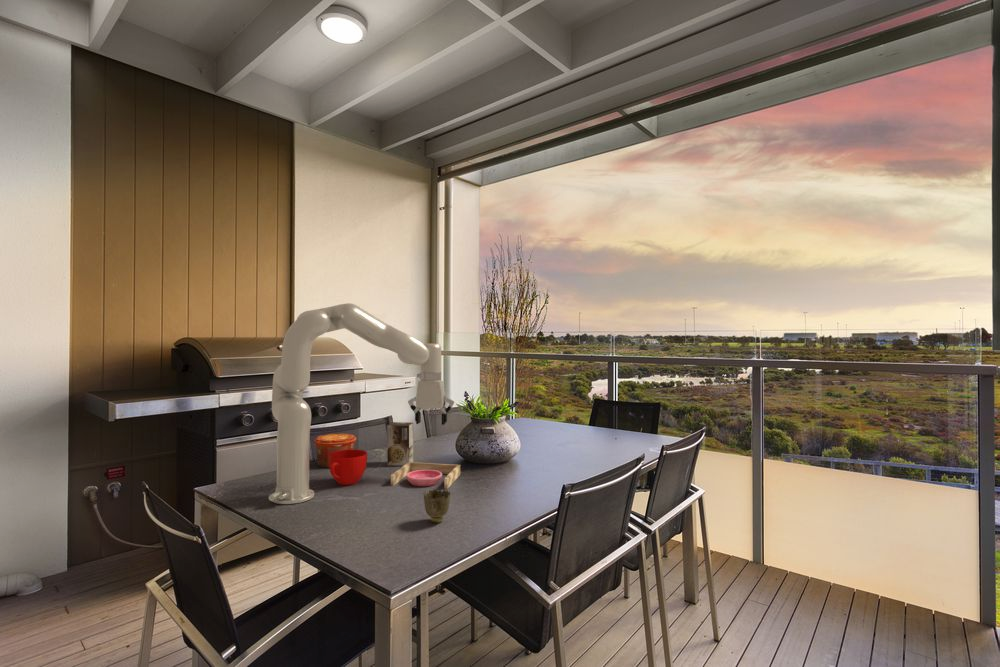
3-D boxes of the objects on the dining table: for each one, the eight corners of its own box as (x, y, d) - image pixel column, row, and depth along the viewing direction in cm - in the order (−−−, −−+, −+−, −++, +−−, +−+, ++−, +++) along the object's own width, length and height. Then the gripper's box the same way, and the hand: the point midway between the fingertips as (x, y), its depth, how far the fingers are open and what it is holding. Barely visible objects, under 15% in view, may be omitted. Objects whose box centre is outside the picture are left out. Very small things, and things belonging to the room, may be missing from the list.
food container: (346, 457, 213) (346, 431, 213) (362, 465, 200) (363, 437, 200) (307, 463, 203) (308, 436, 203) (322, 471, 190) (322, 443, 190)
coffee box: (413, 462, 205) (414, 422, 205) (409, 466, 199) (409, 425, 199) (391, 461, 206) (392, 421, 206) (386, 465, 200) (386, 424, 200)
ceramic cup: (313, 489, 169) (314, 459, 169) (341, 475, 185) (341, 448, 185) (349, 493, 166) (349, 462, 166) (373, 478, 182) (374, 450, 182)
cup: (437, 514, 147) (437, 486, 147) (455, 520, 143) (455, 492, 142) (417, 521, 141) (417, 493, 141) (436, 528, 137) (436, 498, 137)
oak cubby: (447, 489, 171) (447, 478, 171) (390, 485, 174) (390, 475, 174) (460, 474, 189) (460, 464, 189) (408, 471, 192) (408, 461, 192)
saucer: (399, 482, 179) (399, 473, 179) (428, 475, 187) (428, 467, 187) (420, 490, 170) (420, 481, 170) (449, 483, 178) (449, 474, 178)
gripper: (404, 377, 184) (404, 424, 185) (451, 378, 182) (451, 426, 182) (411, 375, 192) (411, 421, 192) (456, 376, 189) (456, 422, 189)
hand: (431, 423), depth 187 cm, fingers open, 9 cm apart
